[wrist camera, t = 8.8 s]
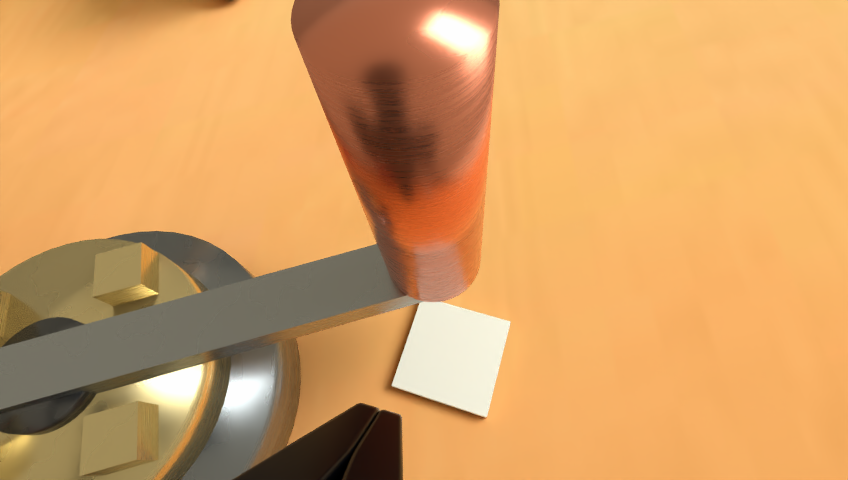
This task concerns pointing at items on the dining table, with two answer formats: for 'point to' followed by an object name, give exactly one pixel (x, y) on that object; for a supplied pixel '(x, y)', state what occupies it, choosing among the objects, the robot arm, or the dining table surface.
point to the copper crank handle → (269, 294)
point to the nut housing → (237, 371)
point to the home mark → (452, 356)
